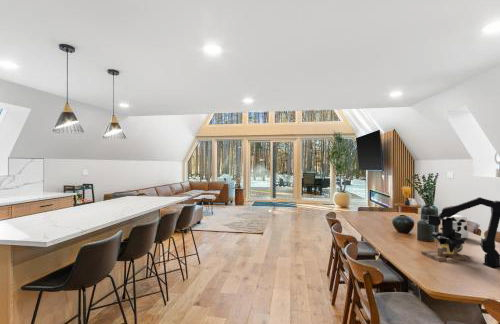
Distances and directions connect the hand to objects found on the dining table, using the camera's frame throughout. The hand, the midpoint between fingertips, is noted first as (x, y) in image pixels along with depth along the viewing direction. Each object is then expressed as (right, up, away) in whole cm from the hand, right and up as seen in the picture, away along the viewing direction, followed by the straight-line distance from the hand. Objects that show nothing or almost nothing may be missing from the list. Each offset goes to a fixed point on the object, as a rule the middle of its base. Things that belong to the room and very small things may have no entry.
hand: (447, 251), depth 170 cm
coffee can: (+14, -1, +13) cm, 19 cm away
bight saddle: (0, -1, 0) cm, 1 cm away
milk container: (+44, -6, +50) cm, 67 cm away
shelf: (-1, -5, +3) cm, 6 cm away
